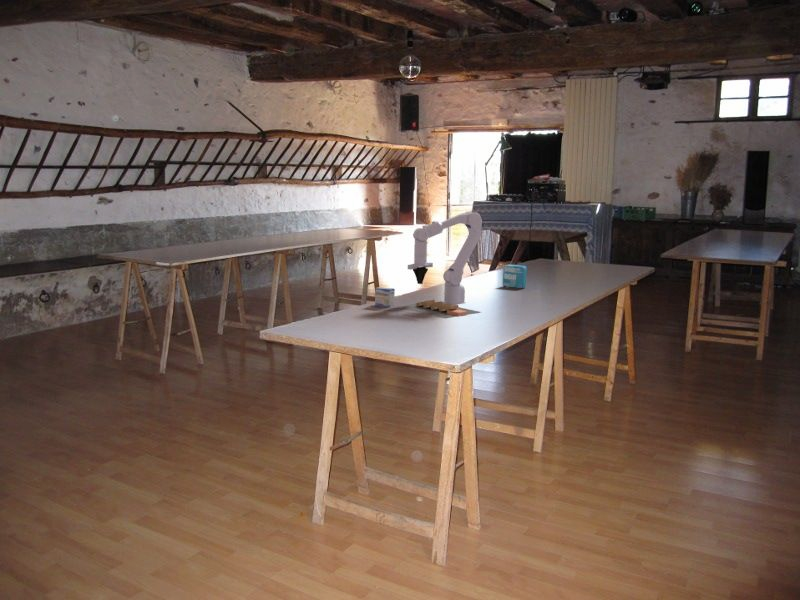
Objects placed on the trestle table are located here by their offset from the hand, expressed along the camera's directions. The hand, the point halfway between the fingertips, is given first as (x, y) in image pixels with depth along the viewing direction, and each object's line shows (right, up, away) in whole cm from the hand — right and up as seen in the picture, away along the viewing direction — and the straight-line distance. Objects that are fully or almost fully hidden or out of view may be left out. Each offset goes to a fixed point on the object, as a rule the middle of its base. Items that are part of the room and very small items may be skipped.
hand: (420, 283), depth 316 cm
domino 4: (+10, -12, -15) cm, 21 cm away
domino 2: (+3, -10, -7) cm, 13 cm away
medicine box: (-16, -11, -4) cm, 20 cm away
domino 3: (+6, -11, -11) cm, 17 cm away
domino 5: (+13, -12, -18) cm, 26 cm away
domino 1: (0, -10, -3) cm, 10 cm away
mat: (+8, -12, -11) cm, 18 cm away
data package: (+53, -1, +56) cm, 77 cm away
